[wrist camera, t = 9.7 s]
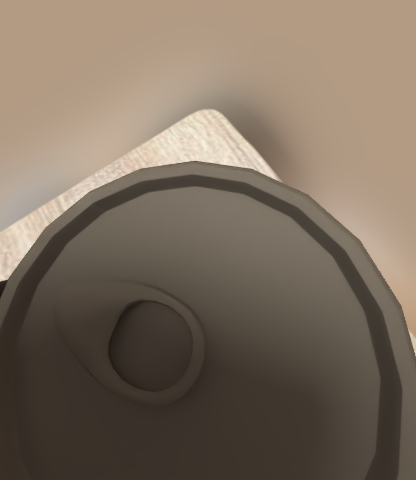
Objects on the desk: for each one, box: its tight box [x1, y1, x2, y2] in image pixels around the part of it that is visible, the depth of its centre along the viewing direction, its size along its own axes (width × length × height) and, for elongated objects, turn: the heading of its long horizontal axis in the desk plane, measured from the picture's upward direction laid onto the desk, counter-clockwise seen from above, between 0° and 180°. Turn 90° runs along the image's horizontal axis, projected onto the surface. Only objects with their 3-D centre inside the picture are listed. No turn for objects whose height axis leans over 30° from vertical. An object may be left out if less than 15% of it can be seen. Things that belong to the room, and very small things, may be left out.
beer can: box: [0, 161, 416, 480], centre depth 8 cm, size 7×7×12 cm
